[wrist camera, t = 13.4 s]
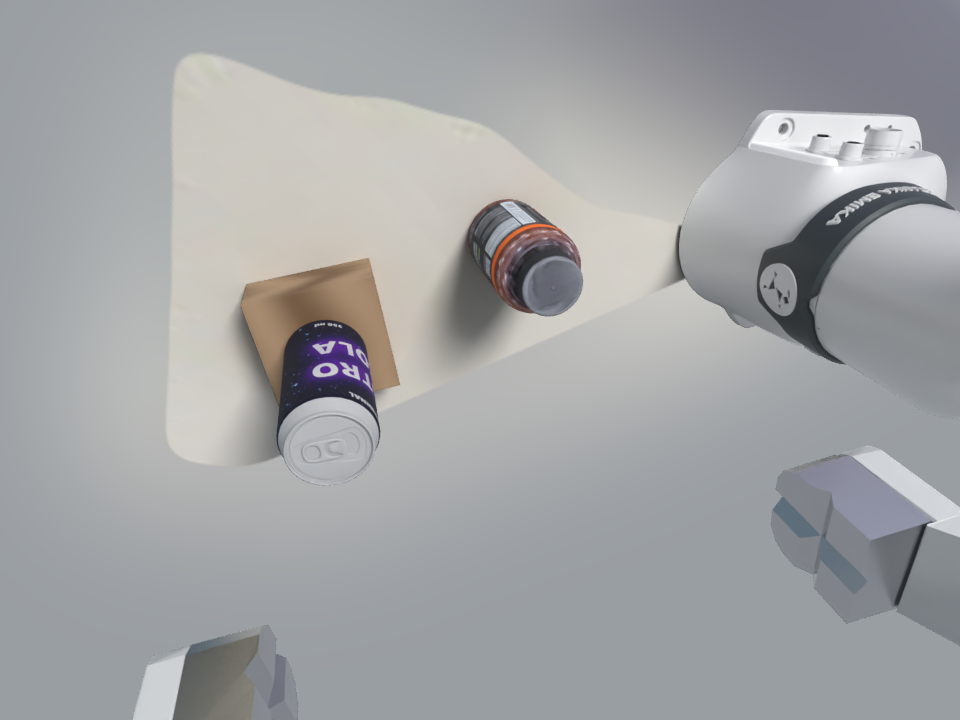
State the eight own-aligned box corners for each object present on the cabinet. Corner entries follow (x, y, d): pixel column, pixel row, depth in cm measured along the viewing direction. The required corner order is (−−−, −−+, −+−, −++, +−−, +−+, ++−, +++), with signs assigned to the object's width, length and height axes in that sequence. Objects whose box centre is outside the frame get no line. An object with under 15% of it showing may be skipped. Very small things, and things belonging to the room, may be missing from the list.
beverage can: (371, 376, 44) (389, 479, 34) (294, 390, 43) (288, 501, 33) (359, 308, 42) (373, 397, 31) (276, 321, 41) (263, 418, 30)
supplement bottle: (553, 242, 47) (614, 297, 38) (491, 285, 48) (536, 350, 38) (516, 180, 44) (573, 222, 35) (451, 227, 45) (489, 280, 35)
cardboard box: (368, 258, 44) (373, 276, 41) (394, 360, 49) (400, 384, 45) (246, 284, 43) (240, 306, 40) (284, 386, 48) (281, 414, 44)
